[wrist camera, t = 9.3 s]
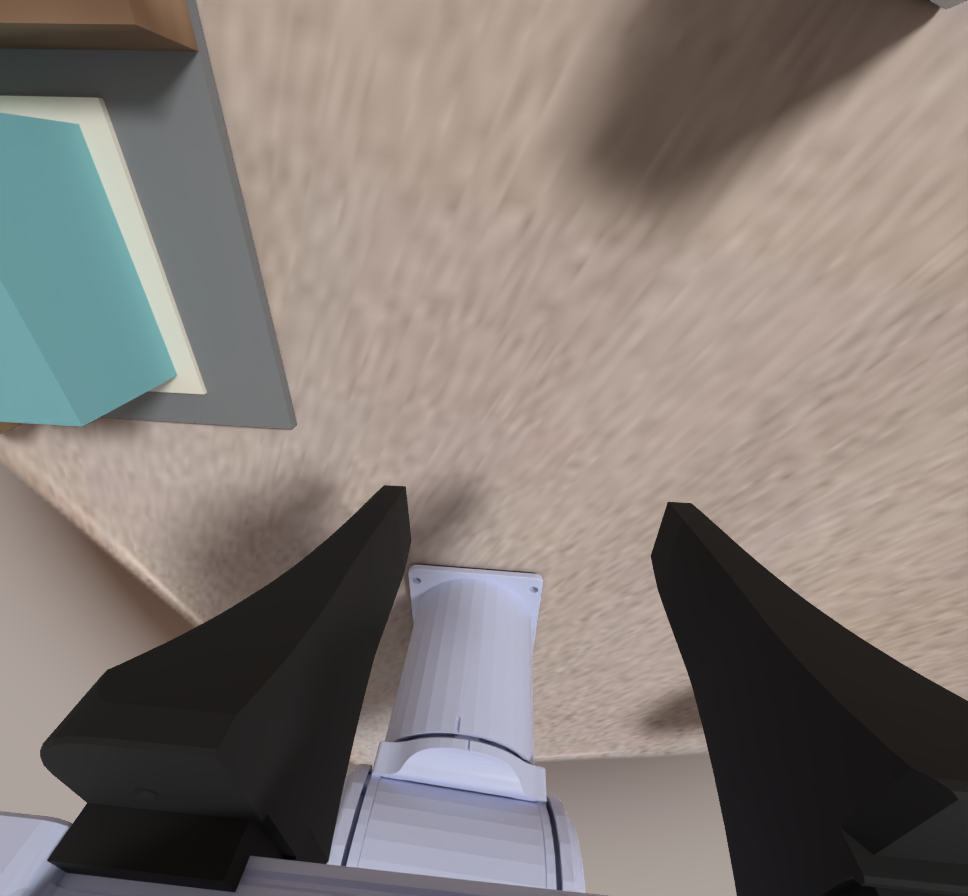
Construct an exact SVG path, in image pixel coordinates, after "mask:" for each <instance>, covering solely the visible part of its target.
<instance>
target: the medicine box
mask: <svg viewBox="0 0 968 896" xmlns="http://www.w3.org/2000/svg"><path fill="white" fill-rule="evenodd" d="M930 1H931V2H933V3H935V4H936V5H938V6H940V7H941V8H944V9H948V8H951V7H954V6H956V5H958V4H961V3H963V2H965V1H967V0H930Z"/></svg>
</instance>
